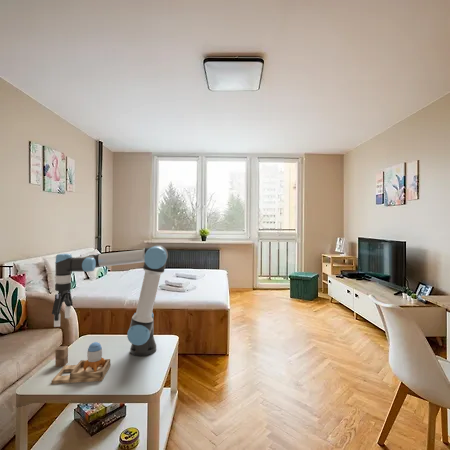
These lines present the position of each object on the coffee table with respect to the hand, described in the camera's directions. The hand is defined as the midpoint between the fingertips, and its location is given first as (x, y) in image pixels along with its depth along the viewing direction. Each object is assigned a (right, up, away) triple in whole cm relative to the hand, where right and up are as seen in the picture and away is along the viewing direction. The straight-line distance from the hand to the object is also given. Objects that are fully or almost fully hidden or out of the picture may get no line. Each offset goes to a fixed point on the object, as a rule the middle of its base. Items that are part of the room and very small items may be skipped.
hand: (62, 322), depth 156 cm
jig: (+16, -23, -9) cm, 29 cm away
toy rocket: (+20, -22, -8) cm, 31 cm away
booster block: (-1, -23, +1) cm, 23 cm away
